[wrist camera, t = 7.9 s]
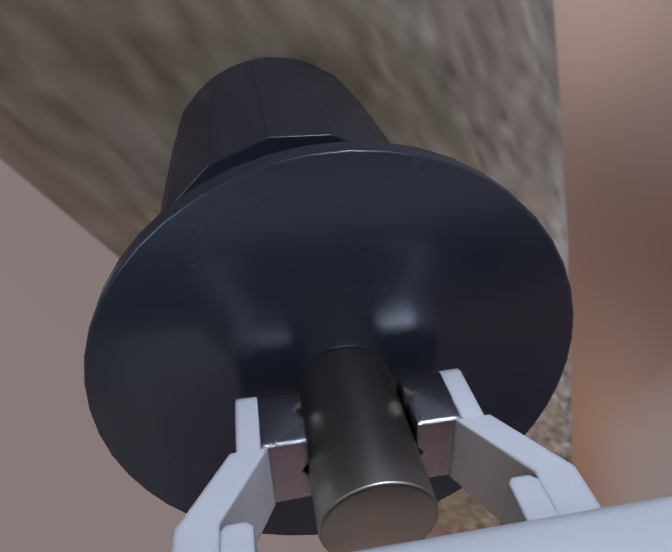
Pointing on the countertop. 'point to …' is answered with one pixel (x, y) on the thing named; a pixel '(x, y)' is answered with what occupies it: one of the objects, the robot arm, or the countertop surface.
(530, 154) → the countertop surface
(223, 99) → the canister
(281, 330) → the lid
